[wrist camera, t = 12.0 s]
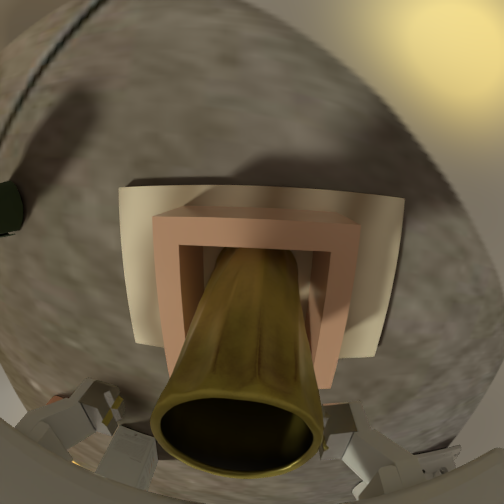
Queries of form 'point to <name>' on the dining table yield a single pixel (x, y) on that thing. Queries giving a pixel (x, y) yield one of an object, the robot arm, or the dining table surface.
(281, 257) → the vase
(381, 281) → the board
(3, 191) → the character mug
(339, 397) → the dining table surface
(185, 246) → the pink open box
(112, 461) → the small box
